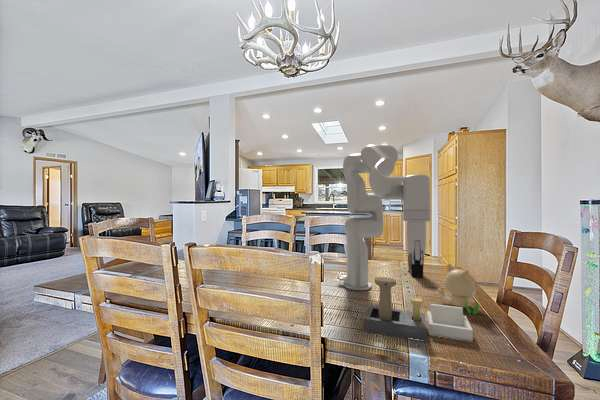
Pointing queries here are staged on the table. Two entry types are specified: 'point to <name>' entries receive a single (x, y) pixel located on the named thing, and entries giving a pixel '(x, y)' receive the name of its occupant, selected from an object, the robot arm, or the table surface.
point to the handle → (385, 297)
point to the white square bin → (449, 323)
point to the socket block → (396, 324)
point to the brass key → (416, 307)
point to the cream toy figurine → (460, 288)
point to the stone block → (411, 262)
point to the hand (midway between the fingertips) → (417, 277)
